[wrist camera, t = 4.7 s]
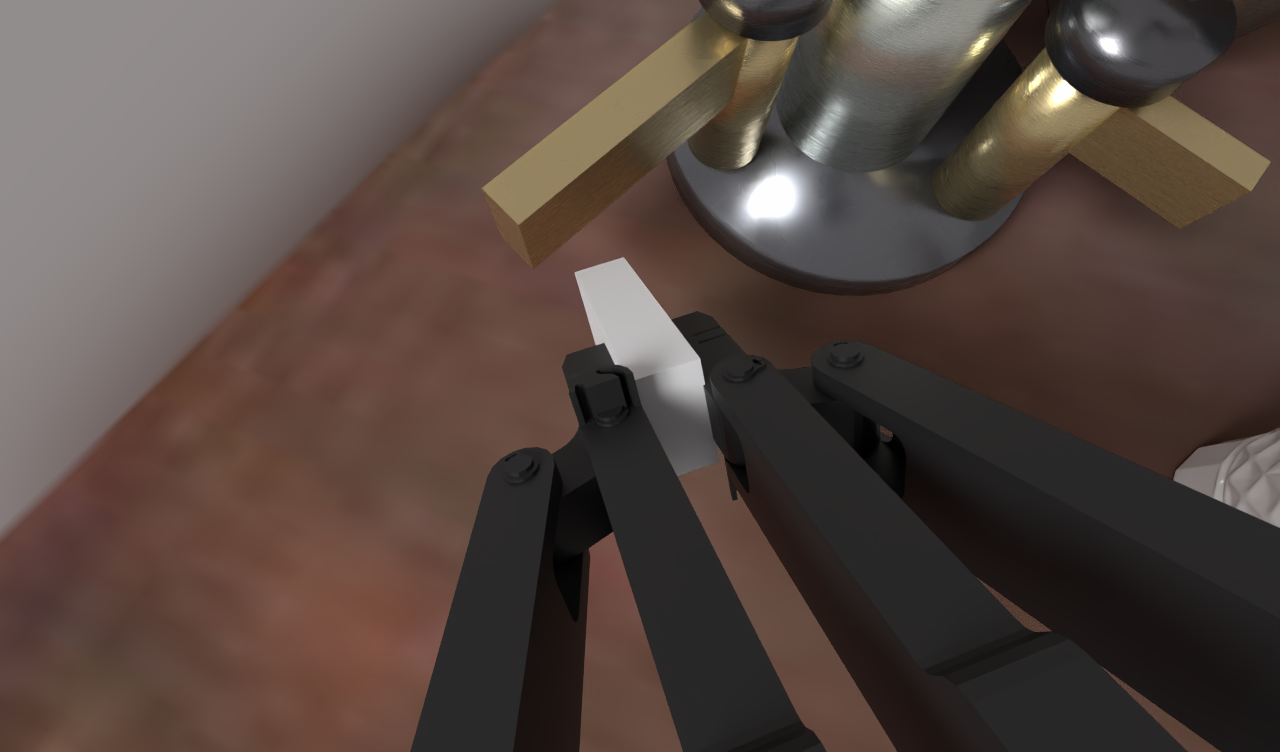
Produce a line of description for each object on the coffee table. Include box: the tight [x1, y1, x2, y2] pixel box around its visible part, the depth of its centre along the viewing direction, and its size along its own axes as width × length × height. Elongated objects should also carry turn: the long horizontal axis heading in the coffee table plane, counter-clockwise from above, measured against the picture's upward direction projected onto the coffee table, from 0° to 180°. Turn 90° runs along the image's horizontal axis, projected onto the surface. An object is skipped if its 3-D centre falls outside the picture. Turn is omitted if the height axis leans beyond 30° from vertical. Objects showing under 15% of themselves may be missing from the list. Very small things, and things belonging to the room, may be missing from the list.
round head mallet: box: [482, 0, 833, 269], centre depth 21 cm, size 13×4×9 cm, turn 134°
